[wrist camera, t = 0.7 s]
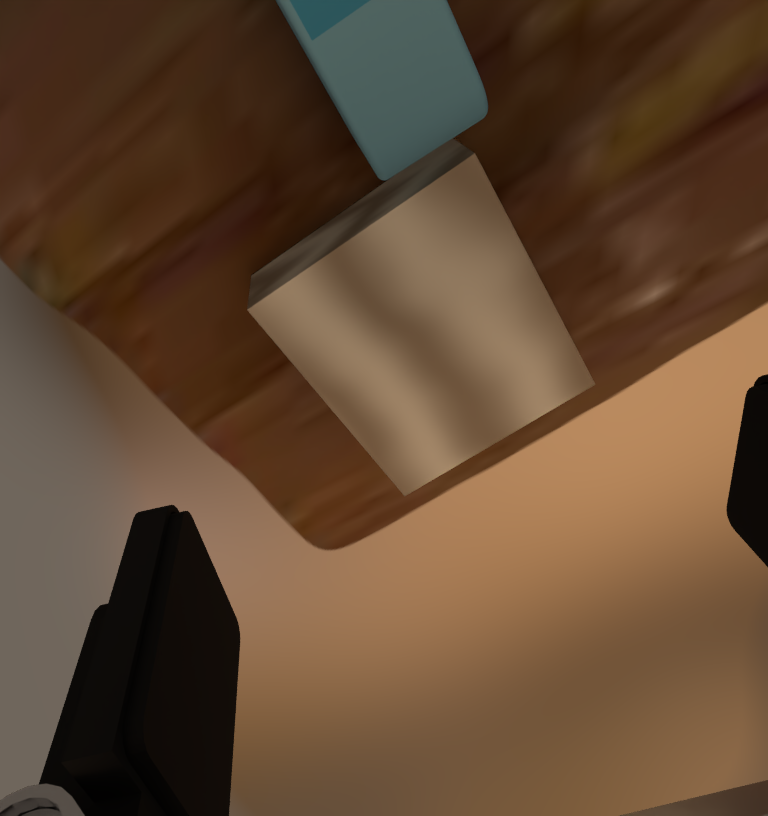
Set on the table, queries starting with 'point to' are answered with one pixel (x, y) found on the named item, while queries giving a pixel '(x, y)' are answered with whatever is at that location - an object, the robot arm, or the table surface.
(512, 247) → the birch riser block
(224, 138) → the table surface
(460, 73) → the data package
